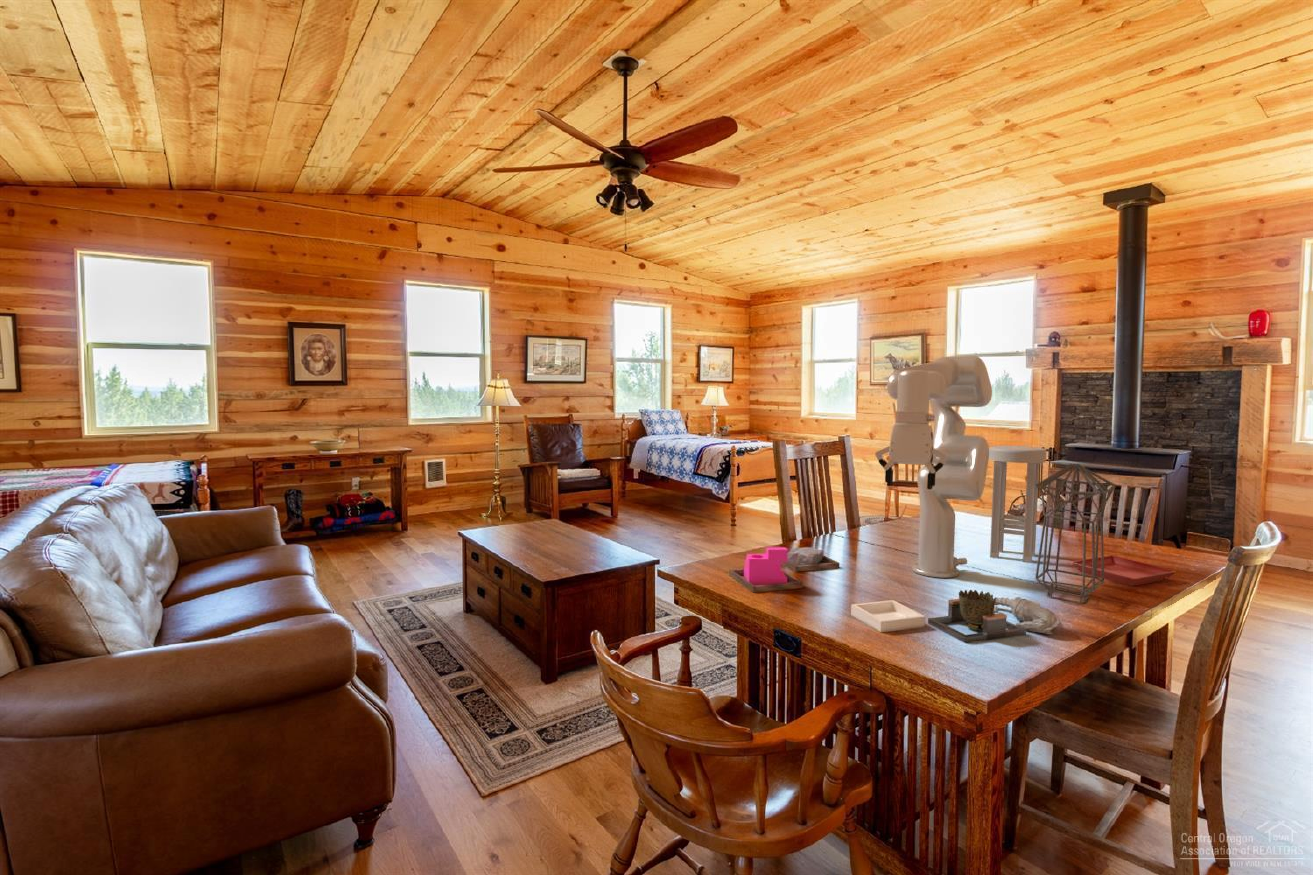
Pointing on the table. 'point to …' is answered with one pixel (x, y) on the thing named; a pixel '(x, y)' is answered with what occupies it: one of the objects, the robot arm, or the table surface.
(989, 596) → the cup
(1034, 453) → the stool
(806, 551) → the stone block
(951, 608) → the frame
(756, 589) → the brown wooden square tray
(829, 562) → the brown rectangular frame
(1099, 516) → the geometric lantern
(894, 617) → the tray
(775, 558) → the bracket
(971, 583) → the table surface
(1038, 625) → the seahorse
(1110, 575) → the plant saucer
